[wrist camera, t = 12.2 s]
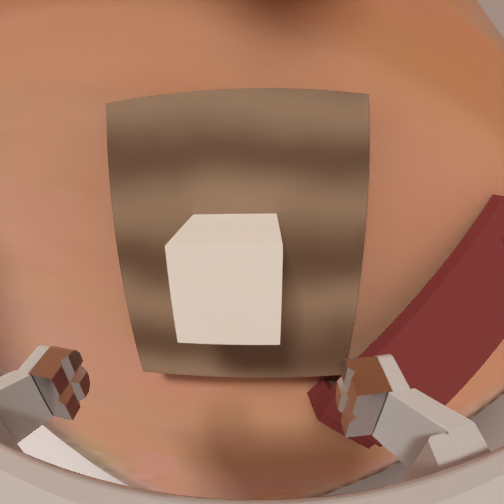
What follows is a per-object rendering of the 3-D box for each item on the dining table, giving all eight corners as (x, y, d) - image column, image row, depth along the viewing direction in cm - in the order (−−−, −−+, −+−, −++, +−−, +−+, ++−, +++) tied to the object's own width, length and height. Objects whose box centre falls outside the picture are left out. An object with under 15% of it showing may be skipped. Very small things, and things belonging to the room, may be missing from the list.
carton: (474, 181, 24) (292, 382, 26) (510, 185, 19) (304, 418, 22) (514, 264, 26) (365, 430, 29) (544, 276, 21) (381, 460, 24)
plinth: (125, 107, 19) (106, 103, 17) (355, 100, 19) (369, 94, 16) (152, 349, 26) (142, 371, 23) (337, 352, 26) (344, 374, 23)
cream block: (193, 214, 19) (164, 245, 13) (276, 213, 19) (282, 245, 13) (198, 289, 21) (177, 342, 15) (275, 290, 20) (280, 344, 15)
